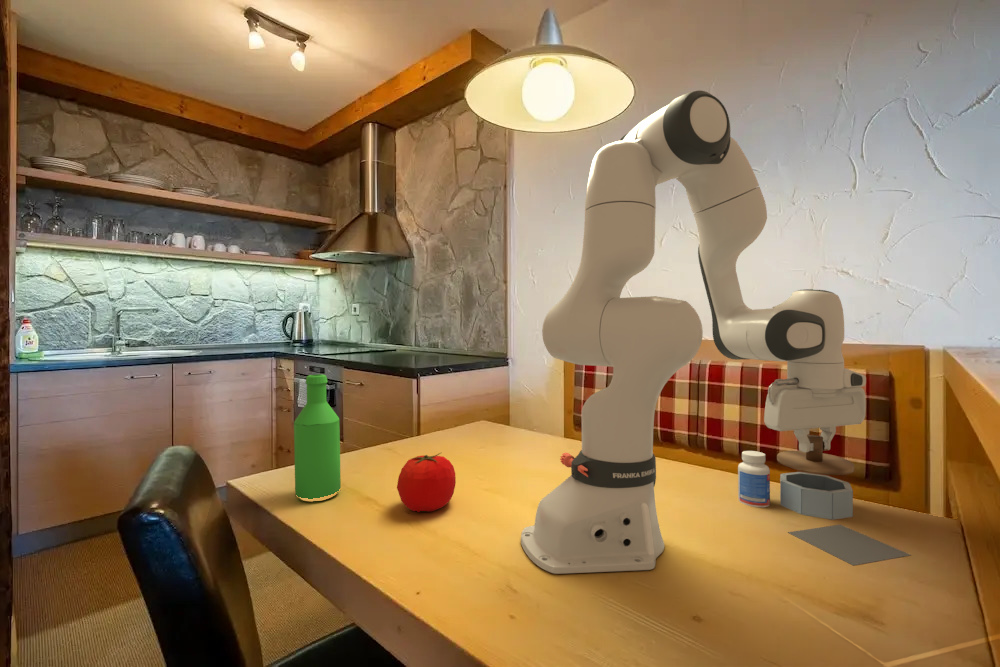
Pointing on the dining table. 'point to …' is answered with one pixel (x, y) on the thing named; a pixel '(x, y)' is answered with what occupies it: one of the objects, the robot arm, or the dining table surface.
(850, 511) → the bowl
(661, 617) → the dining table surface
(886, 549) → the mat
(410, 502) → the tomato
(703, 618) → the dining table surface
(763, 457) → the pill bottle
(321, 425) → the bottle
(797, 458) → the lid
